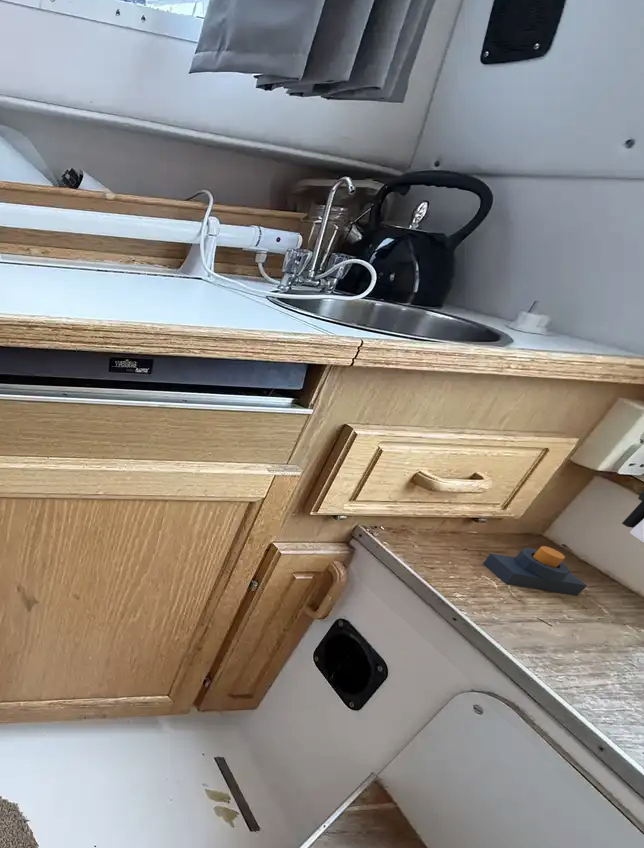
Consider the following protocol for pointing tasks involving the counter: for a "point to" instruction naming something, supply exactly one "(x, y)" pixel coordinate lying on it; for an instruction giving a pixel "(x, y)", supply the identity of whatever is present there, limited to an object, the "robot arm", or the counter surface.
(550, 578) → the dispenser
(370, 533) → the counter surface
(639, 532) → the salt shaker
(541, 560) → the orange button cap
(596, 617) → the counter surface
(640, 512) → the robot arm
